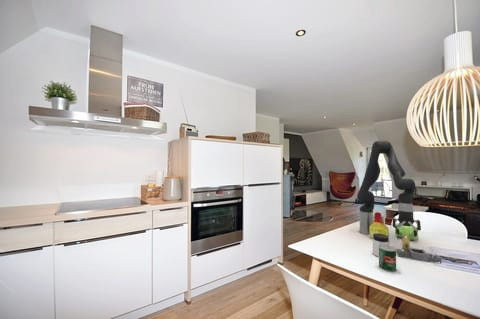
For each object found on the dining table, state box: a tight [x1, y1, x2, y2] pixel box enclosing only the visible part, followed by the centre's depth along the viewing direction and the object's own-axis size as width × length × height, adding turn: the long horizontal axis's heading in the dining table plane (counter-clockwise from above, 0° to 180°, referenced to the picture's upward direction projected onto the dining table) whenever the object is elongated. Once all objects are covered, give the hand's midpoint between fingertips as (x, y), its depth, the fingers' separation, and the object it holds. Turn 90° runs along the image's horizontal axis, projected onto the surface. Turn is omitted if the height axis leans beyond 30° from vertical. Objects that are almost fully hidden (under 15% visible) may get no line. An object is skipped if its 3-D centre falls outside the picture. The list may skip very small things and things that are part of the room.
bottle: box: [369, 211, 390, 239], centre depth 157 cm, size 12×6×20 cm, turn 44°
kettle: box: [394, 222, 419, 241], centre depth 159 cm, size 15×14×11 cm
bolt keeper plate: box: [395, 247, 443, 264], centre depth 128 cm, size 20×8×4 cm, turn 63°
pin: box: [401, 235, 411, 250], centre depth 137 cm, size 4×4×10 cm
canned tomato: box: [378, 245, 397, 273], centre depth 117 cm, size 8×8×11 cm
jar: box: [372, 234, 390, 258], centre depth 132 cm, size 9×8×12 cm
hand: (406, 235), depth 137 cm, fingers open, 8 cm apart
